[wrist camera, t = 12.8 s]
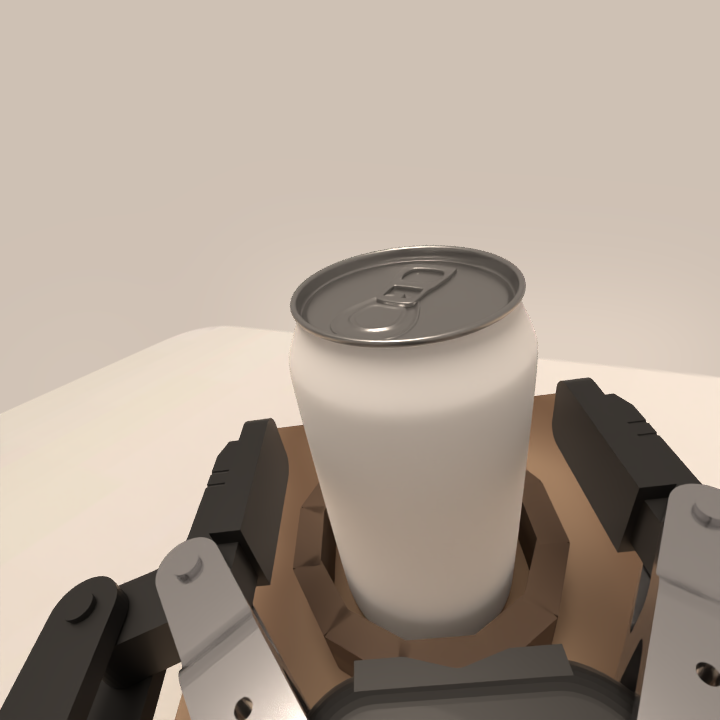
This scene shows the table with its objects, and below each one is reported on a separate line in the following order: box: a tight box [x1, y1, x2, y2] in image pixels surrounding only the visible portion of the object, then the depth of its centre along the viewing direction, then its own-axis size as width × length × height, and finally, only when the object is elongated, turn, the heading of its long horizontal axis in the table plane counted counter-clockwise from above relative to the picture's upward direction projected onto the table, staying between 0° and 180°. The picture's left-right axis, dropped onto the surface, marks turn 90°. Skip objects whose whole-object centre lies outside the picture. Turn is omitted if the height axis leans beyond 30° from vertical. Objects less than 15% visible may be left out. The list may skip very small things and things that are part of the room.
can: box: [289, 245, 538, 640], centre depth 13 cm, size 6×6×12 cm
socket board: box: [175, 394, 642, 720], centre depth 16 cm, size 18×18×4 cm
